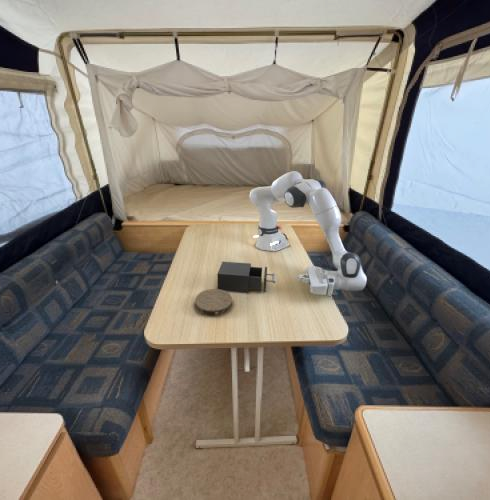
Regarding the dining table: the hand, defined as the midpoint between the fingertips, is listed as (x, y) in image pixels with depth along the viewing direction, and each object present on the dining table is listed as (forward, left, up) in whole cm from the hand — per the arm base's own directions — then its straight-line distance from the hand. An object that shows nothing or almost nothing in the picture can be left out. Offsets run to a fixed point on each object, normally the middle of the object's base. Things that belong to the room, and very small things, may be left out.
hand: (298, 277), depth 125 cm
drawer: (+16, -12, -6) cm, 20 cm away
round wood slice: (+40, -8, -7) cm, 42 cm away
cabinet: (+24, -18, -7) cm, 31 cm away
